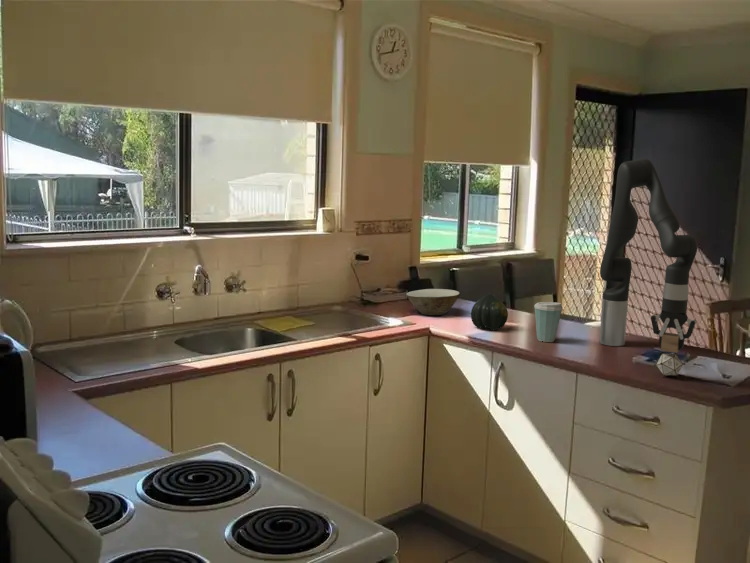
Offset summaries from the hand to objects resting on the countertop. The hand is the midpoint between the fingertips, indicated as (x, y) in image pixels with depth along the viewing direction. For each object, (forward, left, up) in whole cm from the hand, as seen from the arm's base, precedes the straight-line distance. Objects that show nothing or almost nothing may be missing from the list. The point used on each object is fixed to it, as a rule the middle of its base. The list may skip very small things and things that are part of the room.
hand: (670, 348), depth 240 cm
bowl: (-37, -110, -10) cm, 116 cm away
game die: (0, 0, -10) cm, 10 cm away
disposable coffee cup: (-21, -50, -10) cm, 55 cm away
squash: (-26, -77, -10) cm, 82 cm away
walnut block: (0, 0, 0) cm, 0 cm away
